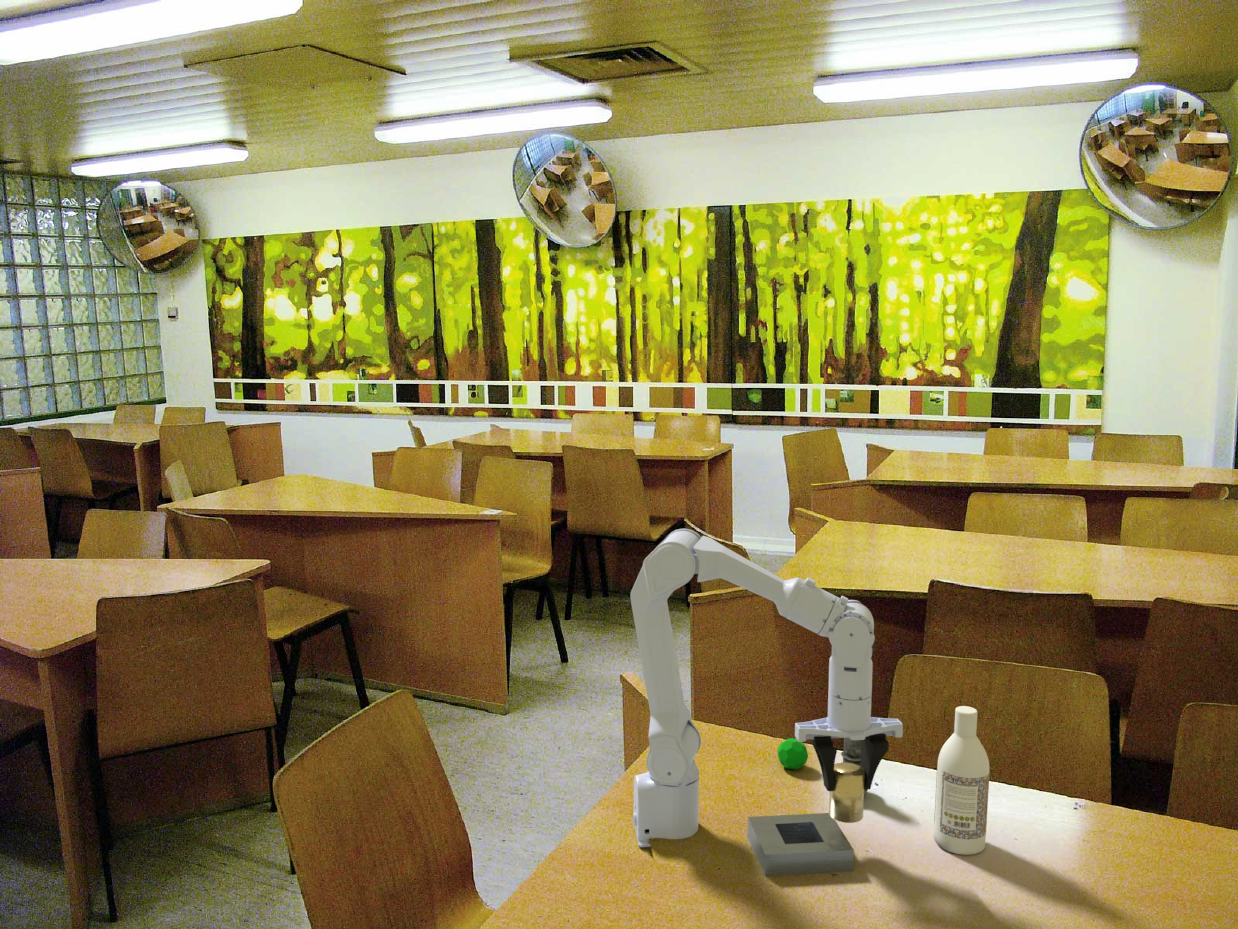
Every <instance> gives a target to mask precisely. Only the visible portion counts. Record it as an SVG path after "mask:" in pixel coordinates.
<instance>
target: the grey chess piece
mask: <svg viewBox="0 0 1238 929" xmlns="http://www.w3.org/2000/svg"><path fill="white" fill-rule="evenodd" d="M840 756H841V757H842V763H852V764H856V765H858V766H860V767H861V742H860V740H851V739H850V738H843V751H841V753H840ZM868 791H869V789H867V790H866V789H865V788H864V795H865V794H867V792H868Z"/></svg>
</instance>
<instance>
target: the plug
mask: <svg viewBox="0 0 1238 929" xmlns="http://www.w3.org/2000/svg"><path fill="white" fill-rule="evenodd" d="M864 781H865V770H864V769H863V768H862V767H860V766H858V765H856V764H852V763H843V762H837V763H835V764H834V788H833V791H829V801H828V803H829V805H828V813H829V815H830V816H831V817H832V818H833V819H835V821H836V822H840V823H845V824H847V823H848V824H853V823H858V822H860V821H862V820H863V819H864V806H865V805H864V803H865V801H864V799H865V798H864V797H865V794H864Z"/></svg>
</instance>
